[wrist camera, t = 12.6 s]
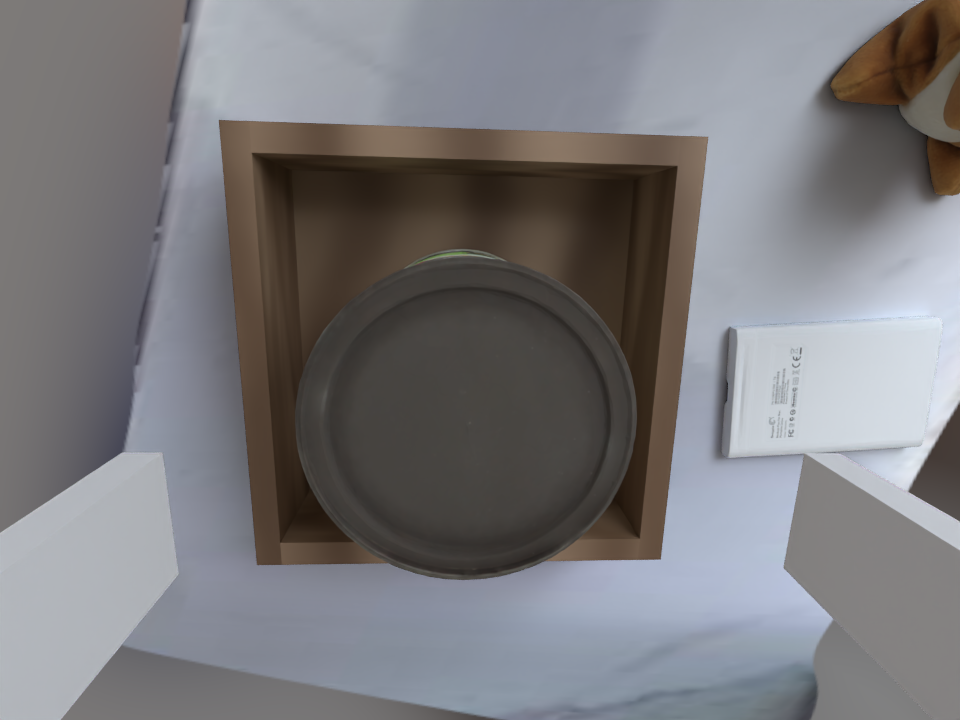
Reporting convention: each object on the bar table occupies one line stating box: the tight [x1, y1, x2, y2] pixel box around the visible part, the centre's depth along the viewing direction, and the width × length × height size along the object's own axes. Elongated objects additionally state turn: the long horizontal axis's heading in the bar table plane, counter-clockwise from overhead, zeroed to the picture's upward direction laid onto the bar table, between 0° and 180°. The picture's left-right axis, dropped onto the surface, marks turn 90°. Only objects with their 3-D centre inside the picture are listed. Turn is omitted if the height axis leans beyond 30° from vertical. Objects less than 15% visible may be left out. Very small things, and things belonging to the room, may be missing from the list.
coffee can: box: [295, 249, 637, 580], centre depth 22 cm, size 10×10×14 cm
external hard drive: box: [721, 316, 943, 458], centre depth 32 cm, size 2×8×12 cm
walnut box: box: [219, 120, 708, 565], centre depth 27 cm, size 20×20×6 cm
